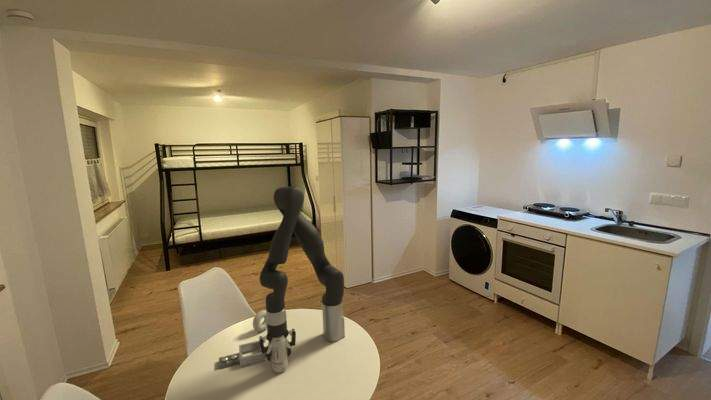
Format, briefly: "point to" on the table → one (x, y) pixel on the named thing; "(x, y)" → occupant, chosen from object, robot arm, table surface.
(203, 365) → the table surface
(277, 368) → the energy drink can
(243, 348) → the mounting bracket
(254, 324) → the donut
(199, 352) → the table surface
